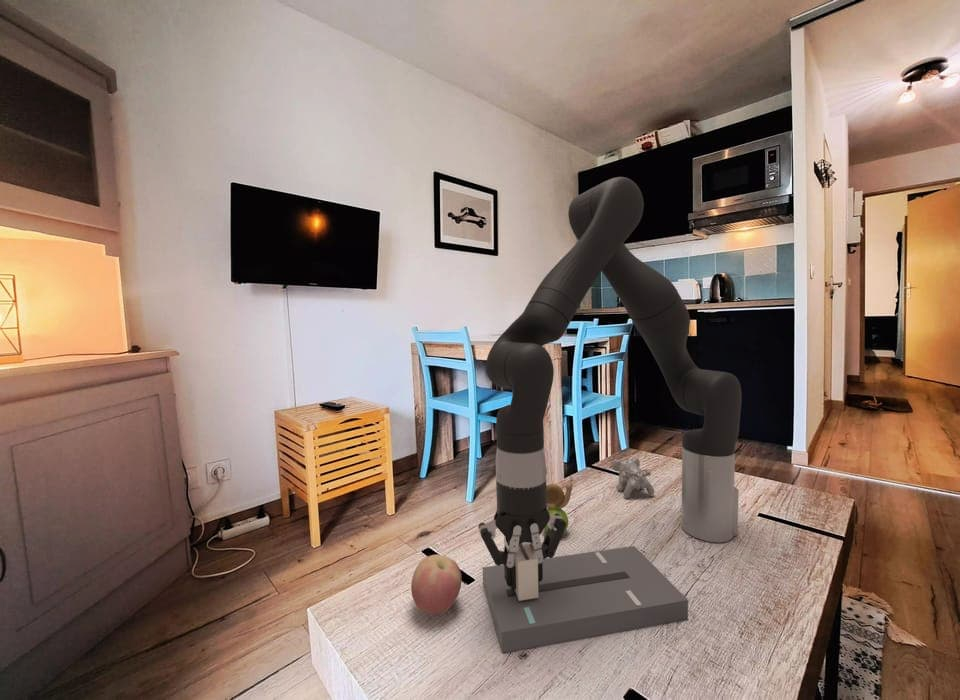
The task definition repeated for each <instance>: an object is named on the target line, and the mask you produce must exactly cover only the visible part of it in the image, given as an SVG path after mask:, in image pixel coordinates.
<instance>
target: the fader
mask: <svg viewBox="0 0 960 700" xmlns="http://www.w3.org/2000/svg"><path fill="white" fill-rule="evenodd" d="M514 565H515V567H516V589H514V590H515V592H516V595H517V597H518V600H519V601H521V600H527V599H533V598H538V559H537V557H536V555H535V554H534V552H533V549H532V547H531V546H530V544H529V543H528V542H523V543H521V544H519V545H518V551H517V553H516V557H515V563H514Z"/></svg>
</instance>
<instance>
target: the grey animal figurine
mask: <svg viewBox="0 0 960 700" xmlns="http://www.w3.org/2000/svg"><path fill="white" fill-rule="evenodd" d="M640 465H641V462H640V459H639V458H637V457H636V458H633V459H629V458H628V459H623V460H620V459H619V460H618V459H615V460H613V461H612V464H611V467H612V470H613V471H614V472H618V485H617V486H616V490H617V491H619V492H623V497H624V498H625V499H629V498H630V497H631V494H632V492H633V490H637V492H639V491H640V490H644V489H645V490H646V492H647V494H648V495H649V496H651V497H652V496H654V494H655V488H653V486H652V484H651V482H650V481H649V480H648V478H647V477H649V476H651V474H652V472H651V471H650V469H649V468H644V469H641V468H640Z"/></svg>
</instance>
